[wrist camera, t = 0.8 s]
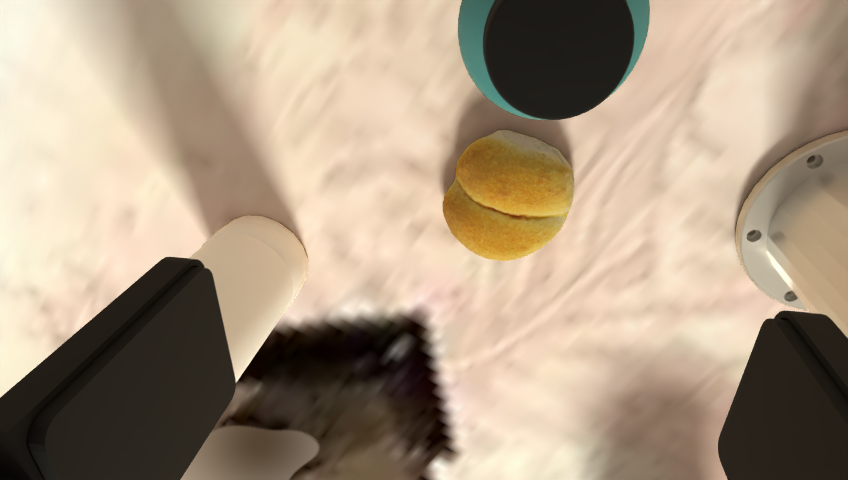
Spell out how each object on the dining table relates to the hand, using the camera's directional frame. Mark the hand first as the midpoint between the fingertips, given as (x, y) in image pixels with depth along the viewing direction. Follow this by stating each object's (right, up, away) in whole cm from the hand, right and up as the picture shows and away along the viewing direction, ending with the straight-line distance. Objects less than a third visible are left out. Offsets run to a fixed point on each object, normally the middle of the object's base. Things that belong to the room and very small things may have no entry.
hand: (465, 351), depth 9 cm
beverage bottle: (+6, +16, +22) cm, 28 cm away
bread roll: (+5, +6, +28) cm, 29 cm away
